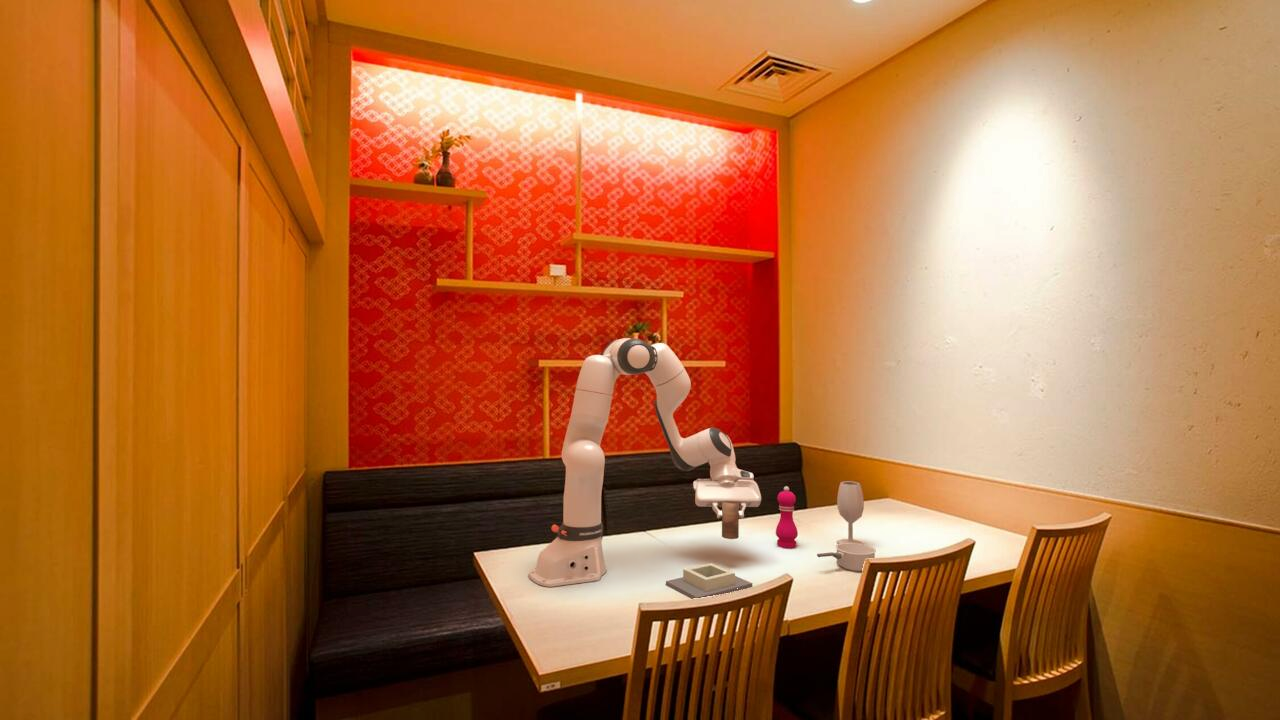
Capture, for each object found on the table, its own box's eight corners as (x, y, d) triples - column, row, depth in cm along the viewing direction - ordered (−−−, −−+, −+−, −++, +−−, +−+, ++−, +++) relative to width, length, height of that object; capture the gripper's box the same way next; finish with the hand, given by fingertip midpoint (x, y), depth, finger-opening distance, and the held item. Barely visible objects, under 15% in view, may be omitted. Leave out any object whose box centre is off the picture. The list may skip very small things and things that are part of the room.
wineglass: (831, 542, 203) (831, 481, 204) (853, 540, 206) (852, 480, 206) (847, 550, 195) (847, 486, 195) (870, 547, 198) (869, 484, 198)
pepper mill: (798, 549, 195) (798, 488, 196) (775, 548, 197) (775, 488, 197) (797, 543, 202) (796, 484, 203) (775, 542, 204) (775, 484, 204)
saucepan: (805, 567, 178) (805, 548, 178) (855, 559, 186) (855, 541, 186) (832, 579, 167) (832, 560, 167) (884, 570, 175) (884, 551, 176)
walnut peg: (729, 539, 175) (729, 505, 175) (718, 535, 179) (718, 502, 179) (742, 537, 178) (742, 504, 178) (730, 533, 182) (731, 500, 182)
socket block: (697, 601, 151) (697, 585, 151) (665, 584, 163) (665, 570, 163) (752, 586, 161) (752, 572, 161) (718, 572, 173) (718, 558, 173)
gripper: (693, 472, 185) (697, 511, 175) (758, 473, 186) (765, 511, 176) (691, 484, 190) (695, 522, 180) (754, 485, 191) (761, 523, 181)
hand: (730, 517), depth 178 cm, fingers closed on walnut peg, 5 cm apart
